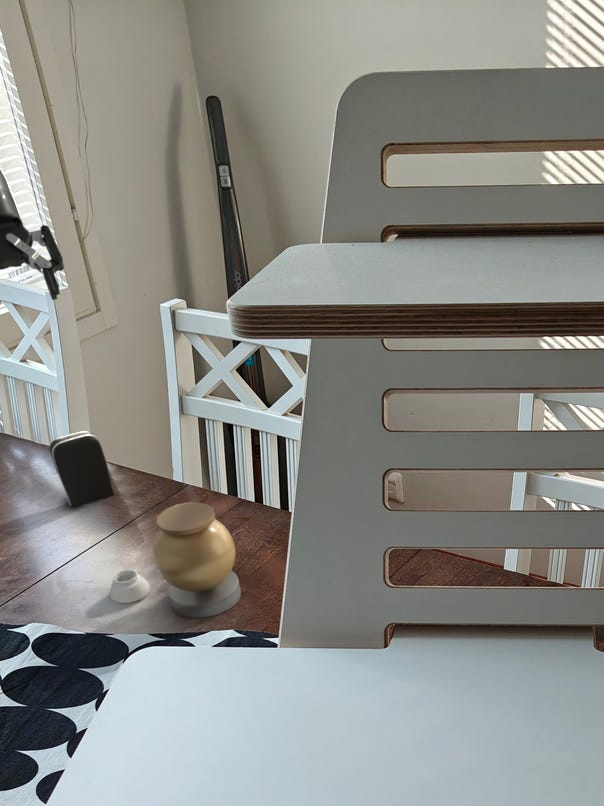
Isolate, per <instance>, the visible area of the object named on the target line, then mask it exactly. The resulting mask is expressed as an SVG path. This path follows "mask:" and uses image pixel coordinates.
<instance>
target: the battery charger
mask: <svg viewBox="0 0 604 806" xmlns="http://www.w3.org/2000/svg"><path fill="white" fill-rule="evenodd" d="M49 452H50V455H51V459H52V463H53V465H54V468H55V471H56V473H57V474H58V477H59V480H60V482H61V485H62V488H63V490H64V493H65V495H66V497H67V501H68V503H69V506H70V507H71V508H74V509H75V508H79V507H81V506H84V505H88V504H91V503H94V502H97V501H101V500H104V499H107V498H110V497H113V496H115V495H116V494H115V491H114V490H115V489H114V487H113V483H112V479H111V475H110V470H109V466H108V463H107V458H106V456H105V452H104V449H103V447H102V443H101V441H100V439H98V437H97V436H95V435H94V434H93V433H91V432H90V431H86V430H82V431H78V432H75V433H70V434H67V435H63V436H60V437H57V438H55V439H53V440H52V441H51V443H50V445H49Z"/></svg>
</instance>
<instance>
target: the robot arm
mask: <svg viewBox="0 0 604 806" xmlns="http://www.w3.org/2000/svg"><path fill="white" fill-rule="evenodd" d="M34 242H37V243H38V244H39V246H41V247H43V248H46V250H47V252H48V255H49V257H50V259H49V260H48V259H47V258H45V257H43V256H42V255H41V254H39V252H38V251H37V250H36V249H34V248H33V247H32V246H33V244H34ZM63 259H64V258H63V255H62V253H61V251H60V249H59V246H58V245H57V243H56V240H55V237H54V236H53V233H52V231H51V228H50V227H49V226H48V225H46V224H43V225H41V226H40V229H37V230H33V231H29V230H28V229H27V228H26V226H25V224H24V222H23V219H22V216H21V213H20V211H19V208H18V205H17V203H16V200H15V197H14V194H13V192H12V190H11V186H10V184H9V181H8V180H7V177H6V176H5V174H4V172H3V170H2V168H1V166H0V271H2V270H5V269H8V268H19V267H23V264H24V265H27V266H28V267H30V268H31V269H32V270H34V271H35V270H36V271H37V272H39V273H41V274H42V275H43V280H44V281H45V284H46V287H47V290H48V292H49V295H50V298H51V300H52V301H54V300H58V297H57V296H59V295H60V293H61V292H60V286H59V283H58V281H57V280H58V279H57V278H56V275H55V273H57V272H58V271H59V272H62V271H64V269H65V265H64V260H63Z"/></svg>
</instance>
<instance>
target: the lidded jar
mask: <svg viewBox="0 0 604 806" xmlns="http://www.w3.org/2000/svg"><path fill="white" fill-rule="evenodd" d="M156 525H157V528H158V532H157V534H156V536H155V539H154V543H153V549H152V554H153V560H154V564H155V567H156V569H157V571H158V572H159V575H160V576H161V577H162V579H164V580H165V581H166V582H167V583H168V584H169V585H168V588H167V595H168V599H169V603H170V605H171V608H172V610H173V611H174V612H175V613H176V614H178V615H179V616H182V617H185V618H189V619H190V618H191V619H204V618H210V617H213V616H218V615H220V614H222V612H223V613H224V611H225V612H227V611H228V610H230V609H232V608H233V607H234V606H235V605H236V604H237V603H238V602H239V600H240V599H241V595H242V589H241V585H240V580H239V577H238V576H237V575H238V574H237V573H235V572H234V571H233V568H234V566H235V562H236V545H235V541H234V539H233V536H232V535H231V533H230V531H229V530H228V528H227V527H226V526H225V525H224V524H223V523H222V522H221V521H219V520H218V519H216V513H215V509H214V508H213V507H212V506H211V505H209V504H207V503H203V502H194V501H192V502H183V503H178V504H175V505H173V506H170V507H168V508H166V509H164V510H163V511H161V513H159V515H158V516H157V518H156ZM209 616H210V617H209Z"/></svg>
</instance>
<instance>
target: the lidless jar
mask: <svg viewBox="0 0 604 806" xmlns="http://www.w3.org/2000/svg"><path fill="white" fill-rule="evenodd" d="M150 589H151V586H150V584H149V582H148V581H147V580H146V579H145V578H144V577H143V576H142V575H141V574H139V573H138V572H137V571H136V570H134V569H123V570H120V571H118V572H116V573H115V574H114V575H113V578H112V582H111V585H110V589H109V596H110V599H111V600H112V601H114V602H116V603H120V604H127V603H133V602H136V601H139V600H141V599H143V598H145V597H146V596H147V595H148V594H149V593H150Z"/></svg>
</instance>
